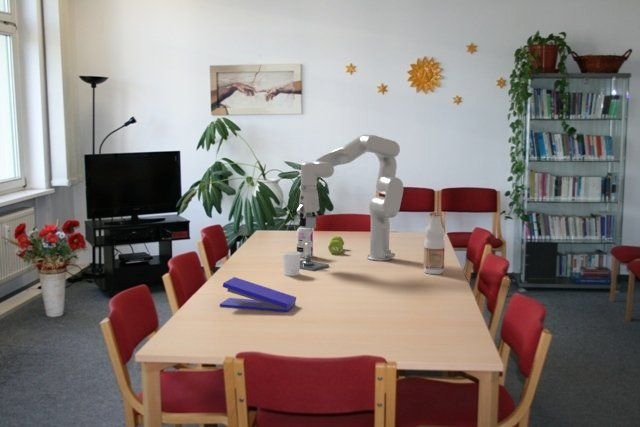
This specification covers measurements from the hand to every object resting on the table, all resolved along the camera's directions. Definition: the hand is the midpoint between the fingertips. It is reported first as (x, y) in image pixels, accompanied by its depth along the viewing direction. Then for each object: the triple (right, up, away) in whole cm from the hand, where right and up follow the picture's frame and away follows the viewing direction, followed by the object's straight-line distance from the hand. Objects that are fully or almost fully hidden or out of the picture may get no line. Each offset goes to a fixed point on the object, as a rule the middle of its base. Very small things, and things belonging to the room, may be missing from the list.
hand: (308, 224), depth 353 cm
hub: (0, -1, 0) cm, 1 cm away
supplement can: (-2, -17, +25) cm, 30 cm away
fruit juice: (+59, -22, -8) cm, 63 cm away
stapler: (-18, -31, -68) cm, 77 cm away
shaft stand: (0, -20, +2) cm, 20 cm away
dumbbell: (+14, -15, +39) cm, 44 cm away
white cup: (-7, -23, -15) cm, 28 cm away
